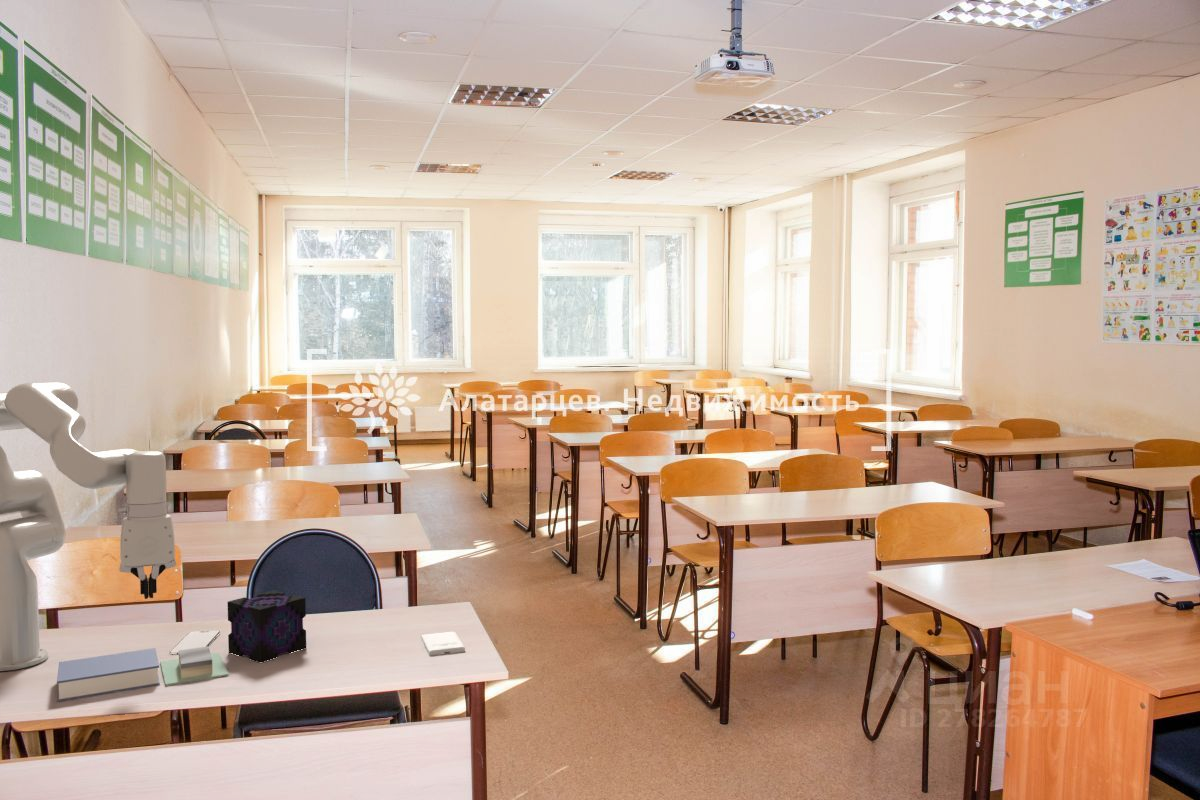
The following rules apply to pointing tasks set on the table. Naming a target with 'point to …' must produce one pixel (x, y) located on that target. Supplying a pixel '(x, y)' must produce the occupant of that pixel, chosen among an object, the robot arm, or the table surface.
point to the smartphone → (195, 640)
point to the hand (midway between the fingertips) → (148, 596)
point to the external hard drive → (442, 643)
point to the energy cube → (266, 625)
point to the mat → (174, 676)
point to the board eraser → (195, 662)
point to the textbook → (107, 674)
